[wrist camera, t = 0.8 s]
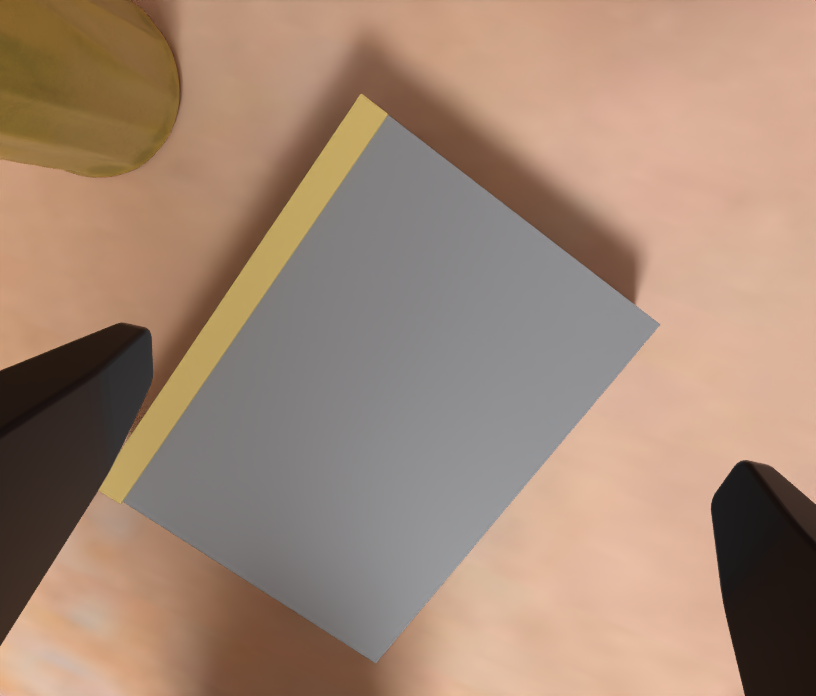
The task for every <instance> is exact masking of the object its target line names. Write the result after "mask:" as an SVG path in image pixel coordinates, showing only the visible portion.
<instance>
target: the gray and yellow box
mask: <svg viewBox="0 0 816 696" xmlns="http://www.w3.org/2000/svg"><path fill="white" fill-rule="evenodd" d="M659 326H660V324H659V323H658V322H656V321H655V320H654V319H653V318H651V317H650V316H649V315H647V314H646V313H645V312H644V311H642V310H641V309H640V308H638V307H637V306H636V305H634V304H633V303H632V302H631V301H629V300H628V299H627V298H625V297H624V296H623V295H621V294H620V293H619V292H618V291H616V290H615V289H614V288H612V287H611V286H610V285H608V284H607V283H606V282H605V281H603V280H602V279H601V278H599V277H598V276H597V275H595V274H594V273H593V272H592V271H590V270H589V269H588V268H586V267H585V266H584V265H582V264H581V263H580V262H579V261H577V260H576V259H575V258H573V257H572V256H571V255H569V254H568V253H567V252H566V251H564V250H563V249H562V248H560V247H559V246H558V245H557V244H555V243H554V242H553V241H551V240H550V239H549V238H547V237H546V236H545V235H544V234H542V233H541V232H540V231H538V230H537V229H536V228H534V227H533V226H532V225H531V224H529V223H528V222H527V221H525V220H524V219H523V218H521V217H520V216H519V215H518V214H516V213H515V212H514V211H512V210H511V209H510V208H508V207H507V206H506V205H505V204H503V203H502V202H501V201H499V200H498V199H497V198H495V197H494V196H493V195H492V194H490V193H489V192H488V191H486V190H485V189H484V188H483V187H481V186H480V185H479V184H477V183H476V182H475V181H473V180H472V179H471V178H470V177H468V176H467V175H466V174H464V173H463V172H462V171H460V170H459V169H458V168H457V167H455V166H454V165H453V164H451V163H450V162H449V161H447V160H446V159H445V158H444V157H442V156H441V155H440V154H438V153H437V152H436V151H434V150H433V149H432V148H431V147H429V146H428V145H427V144H425V143H424V142H423V141H421V140H420V139H419V138H418V137H416V136H415V135H414V134H412V133H411V132H410V131H409V130H407V129H406V128H405V127H403V126H402V125H401V124H399V123H398V122H397V121H396V120H394V119H393V118H392V117H390V116H389V115H388V114H387V113H386V112H385V111H383V110H382V109H381V108H380V107H378V106H377V105H376V104H374V103H373V102H372V101H371V100H369V99H368V98H367V97H365V96H364V95H363V94H360V96H359V97H358V99H357V100H356V102H355V103H354V104H353V106H352V107H351V109H350V110H349V112H348V113H347V115H346V116H345V118H344V119H343V121H342V122H341V124H340V125H339V127H338V128H337V130H336V131H335V133H334V134H333V136H332V137H331V139H330V140H329V142H328V143H327V145H326V146H325V148H324V149H323V151H322V152H321V154H320V155H319V157H318V158H317V160H316V161H315V162H314V164H313V165H312V167H311V168H310V170H309V171H308V173H307V174H306V176H305V177H304V179H303V180H302V182H301V183H300V185H299V186H298V188H297V189H296V191H295V192H294V194H293V195H292V197H291V198H290V200H289V201H288V203H287V204H286V206H285V207H284V209H283V210H282V212H281V213H280V215H279V216H278V217H277V219H276V220H275V222H274V223H273V225H272V226H271V228H270V229H269V231H268V232H267V234H266V235H265V237H264V238H263V240H262V241H261V243H260V244H259V246H258V247H257V249H256V250H255V252H254V253H253V255H252V256H251V258H250V259H249V261H248V262H247V264H246V265H245V267H244V268H243V270H242V271H241V273H240V274H239V275H238V277H237V278H236V280H235V281H234V283H233V284H232V286H231V287H230V289H229V290H228V292H227V293H226V295H225V296H224V298H223V299H222V301H221V302H220V304H219V305H218V307H217V308H216V310H215V311H214V313H213V314H212V316H211V317H210V319H209V320H208V322H207V323H206V325H205V326H204V328H203V329H202V331H201V332H200V333H199V335H198V336H197V338H196V339H195V341H194V342H193V344H192V345H191V347H190V348H189V350H188V351H187V353H186V354H185V356H184V357H183V359H182V360H181V362H180V363H179V365H178V366H177V368H176V369H175V371H174V372H173V374H172V375H171V377H170V378H169V380H168V381H167V383H166V384H165V386H164V387H163V388H162V390H161V391H160V393H159V394H158V396H157V397H156V399H155V400H154V402H153V403H152V405H151V406H150V408H149V409H148V411H147V412H146V414H145V415H144V417H143V418H142V420H141V421H140V423H139V424H138V426H137V427H136V429H135V430H134V432H133V433H132V435H131V436H130V438H129V439H128V441H127V442H126V444H125V445H124V446H123V448H122V449H121V451H120V452H119V454H118V456H117V458H116V460H115V462H114V464H113V466H112V468H111V470H110V472H109V473H108V475H107V477H106V478H105V480H104V482H103V484H102V485H101V487H100V488H99V491H100V492H102V493H103V494H105V495H106V496H108V497H110V498H111V499H113V500H114V501H116V502H117V503H119V504H121V503H122V502H124V503H126V504H127V505H129V506H130V507H132V508H133V509H135V510H137V511H138V512H140V513H141V514H143V515H144V516H146V517H148V518H149V519H151V520H152V521H154V522H155V523H157V524H158V525H160V526H162V527H163V528H165V529H166V530H168V531H169V532H171V533H173V534H174V535H176V536H177V537H179V538H180V539H182V540H183V541H185V542H187V543H188V544H190V545H191V546H193V547H194V548H196V549H198V550H199V551H201V552H202V553H204V554H205V555H207V556H208V557H210V558H212V559H213V560H215V561H216V562H218V563H219V564H221V565H223V566H224V567H226V568H227V569H229V570H230V571H232V572H234V573H235V574H237V575H238V576H240V577H241V578H243V579H244V580H246V581H248V582H249V583H251V584H252V585H254V586H255V587H257V588H259V589H260V590H262V591H263V592H265V593H266V594H268V595H269V596H271V597H273V598H274V599H276V600H277V601H279V602H280V603H282V604H284V605H285V606H287V607H288V608H290V609H291V610H293V611H294V612H296V613H298V614H299V615H301V616H302V617H304V618H305V619H307V620H309V621H310V622H312V623H313V624H315V625H316V626H318V627H319V628H321V629H323V630H324V631H326V632H327V633H329V634H330V635H332V636H334V637H335V638H337V639H338V640H340V641H341V642H343V643H344V644H346V645H348V646H349V647H351V648H352V649H354V650H355V651H357V652H359V653H360V654H362V655H363V656H365V657H366V658H368V659H369V660H371V661H373V662H374V663H377V662H378V660H379V659H380V658H381V657H382V656H383V654H384V653H385V652H386V651H387V650H388V648H389V647H390V646H391V645H392V644H393V642H394V641H395V640H396V639H397V638H398V637H399V635H400V634H401V633H402V632H403V631H404V629H405V628H406V627H407V626H408V625H409V623H410V622H411V621H412V620H413V619H414V617H415V616H416V615H417V614H418V613H419V611H420V610H421V609H422V608H423V607H424V606H425V604H426V603H427V602H428V601H429V600H430V598H431V597H432V596H433V595H434V594H435V592H436V591H437V590H438V589H439V588H440V586H441V585H442V584H443V583H444V582H445V581H446V579H447V578H448V577H449V576H450V575H451V573H452V572H453V571H454V570H455V569H456V567H457V566H458V565H459V564H460V563H461V561H462V560H463V559H464V558H465V557H466V556H467V554H468V553H469V552H470V551H471V550H472V548H473V547H474V546H475V545H476V544H477V542H478V541H479V540H480V539H481V538H482V536H483V535H484V534H485V533H486V532H487V530H488V529H489V528H490V527H491V526H492V525H493V523H494V522H495V521H496V520H497V519H498V517H499V516H500V515H501V514H502V513H503V511H504V510H505V509H506V508H507V507H508V505H509V504H510V503H511V502H512V501H513V500H514V498H515V497H516V496H517V495H518V494H519V492H520V491H521V490H522V489H523V488H524V486H525V485H526V484H527V483H528V482H529V480H530V479H531V478H532V477H533V476H534V475H535V473H536V472H537V471H538V470H539V469H540V467H541V466H542V465H543V464H544V463H545V461H546V460H547V459H548V458H549V457H550V455H551V454H552V453H553V452H554V451H555V450H556V448H557V447H558V446H559V445H560V444H561V442H562V441H563V440H564V439H565V438H566V436H567V435H568V434H569V433H570V432H571V430H572V429H573V428H574V427H575V426H576V424H577V423H578V422H579V421H580V420H581V419H582V417H583V416H584V415H585V414H586V413H587V411H588V410H589V409H590V408H591V407H592V405H593V404H594V403H595V402H596V401H597V399H598V398H599V397H600V396H601V395H602V394H603V392H604V391H605V390H606V389H607V388H608V386H609V385H610V384H611V383H612V382H613V380H614V379H615V378H616V377H617V376H618V374H619V373H620V372H621V371H622V370H623V369H624V367H625V366H626V365H627V364H628V363H629V361H630V360H631V359H632V358H633V357H634V355H635V354H636V353H637V352H638V351H639V349H640V348H641V347H642V346H643V345H644V343H645V342H646V341H647V340H648V339H649V338H650V336H651V335H652V334H653V333H654V332H655V330H656V329H657V328H658V327H659Z"/></svg>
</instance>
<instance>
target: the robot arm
mask: <svg viewBox="0 0 816 696" xmlns="http://www.w3.org/2000/svg"><path fill="white" fill-rule="evenodd" d="M152 378H153V358H152V337H151V333H150V331H149V330H148V329H147V328H145V327H141V326H137V325H132V324H128V323H118V324H115V325H112V326H110V327H107V328H105V329H102V330H100V331H97V332H95V333H92V334H90V335H87V336H85V337H83V338H80V339H78V340H75V341H73V342H70V343H68V344H65V345H63V346H60V347H58V348H55V349H53V350H50V351H48V352H45V353H43V354H40V355H38V356H35V357H33V358H30V359H28V360H25V361H23V362H20V363H18V364H16V365H13V366H11V367H8V368H6V369H3V370H1V371H0V646H1V644H2V642H3V641H4V639H5V638H6V636H7V635H8V633H9V631H10V630H11V628H12V627H13V625H14V623H15V622H16V620H17V619H18V617H19V615H20V614H21V612H22V611H23V609H24V608H25V606H26V604H27V603H28V601H29V600H30V598H31V596H32V595H33V593H34V592H35V590H36V588H37V587H38V585H39V584H40V582H41V581H42V579H43V577H44V576H45V574H46V573H47V571H48V569H49V568H50V566H51V565H52V563H53V561H54V560H55V558H56V557H57V555H58V554H59V552H60V550H61V549H62V547H63V546H64V544H65V542H66V541H67V539H68V538H69V536H70V534H71V533H72V531H73V530H74V528H75V527H76V525H77V523H78V522H79V520H80V519H81V517H82V515H83V514H84V512H85V511H86V509H87V507H88V506H89V504H90V503H91V501H92V500H93V498H94V496H95V495H96V493H97V492H98V490H99V488H100V487H101V485H102V484H103V482H104V480H105V478H106V477H107V475H108V473H109V472H110V470H111V468H112V466H113V464H114V462H115V460H116V458H117V456H118V454H119V451H120V449H121V447H122V445H123V443H124V441H125V439H126V437H127V434H128V432H129V430H130V428H131V426H132V424H133V422H134V420H135V418H136V415H137V413H138V411H139V409H140V407H141V405H142V403H143V401H144V399H145V396H146V394H147V392H148V390H149V388H150V385H151V382H152ZM711 515H712V523H713V530H714V538H715V546H716V554H717V562H718V570H719V578H720V586H721V592H722V599H723V604H724V609H725V614H726V618H727V623H728V627H729V631H730V635H731V639H732V644H733V648H734V652H735V656H736V660H737V665H738V669H739V673H740V677H741V681H742V685H743V690H744V694H745V696H816V504H815V503H814V502H812V501H811V500H810V499H809V498H808V497H807V496H805V495H804V494H803V493H802V492H801V491H800V490H798V489H797V488H796V487H795V486H794V485H793V484H791V483H790V482H789V481H788V480H787V479H786V478H785V477H783V476H782V475H781V474H780V473H779V472H778V471H776V470H775V469H774V468H773V467H771V466H769V465H766V464H762V463H758V462H753V461H748V460H743V461H740V462H739V463H737V464H736V465H735V466H734V468H733V469H732V470H731V472H730V473H729V475H728V476H727V477H726V479H725V480H724V482H723V483H722V484H721V486H720V487H719V489H718V490H717V491H716V493H715V494H714V497H713V499H712V503H711Z"/></svg>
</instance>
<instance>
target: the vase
mask: <svg viewBox="0 0 816 696" xmlns="http://www.w3.org/2000/svg"><path fill="white" fill-rule="evenodd" d="M179 99H180V90H179V79H178V71H177V68H176V64H175V60H174V57H173V54H172V52H171V49H170V47H169V45H168V43H167V41H166V40H165V38H164V36H163V35H162V34H161V32H160V31H159V30H158V28H157V27H156V26H155V24H154V23H153V22H152V20H151V19H150V18H149V17H148V15H147V14H146V13H145V12H144V11H143V10H142V9H141V8H140V7H139V6H137V5H136V4H134V3H133V2H131V1H130V0H0V159H3V160H8V161H13V162H18V163H24V164H31V165H37V166H41V167H47V168H53V169H61V170H65V171H67V172H71V173H74V174H77V175H82V176H86V177H112V176H116V175H121V174H124V173H126V172H129V171H132V170H134V169H137V168H138V167H140V166H141V165H143V164H144V163H146V162H147V161H148V160H149V159H150V158H151V157H152V156H153V155H154V154H155V153H156V152H157V151H158V150H159V149H160V147H161V146H162V145H163V144H164V142H165V141H166V140H167V138H168V136H169V134H170V133H171V131H172V128H173V125H174V122H175V119H176V115H177V111H178V106H179Z"/></svg>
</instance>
